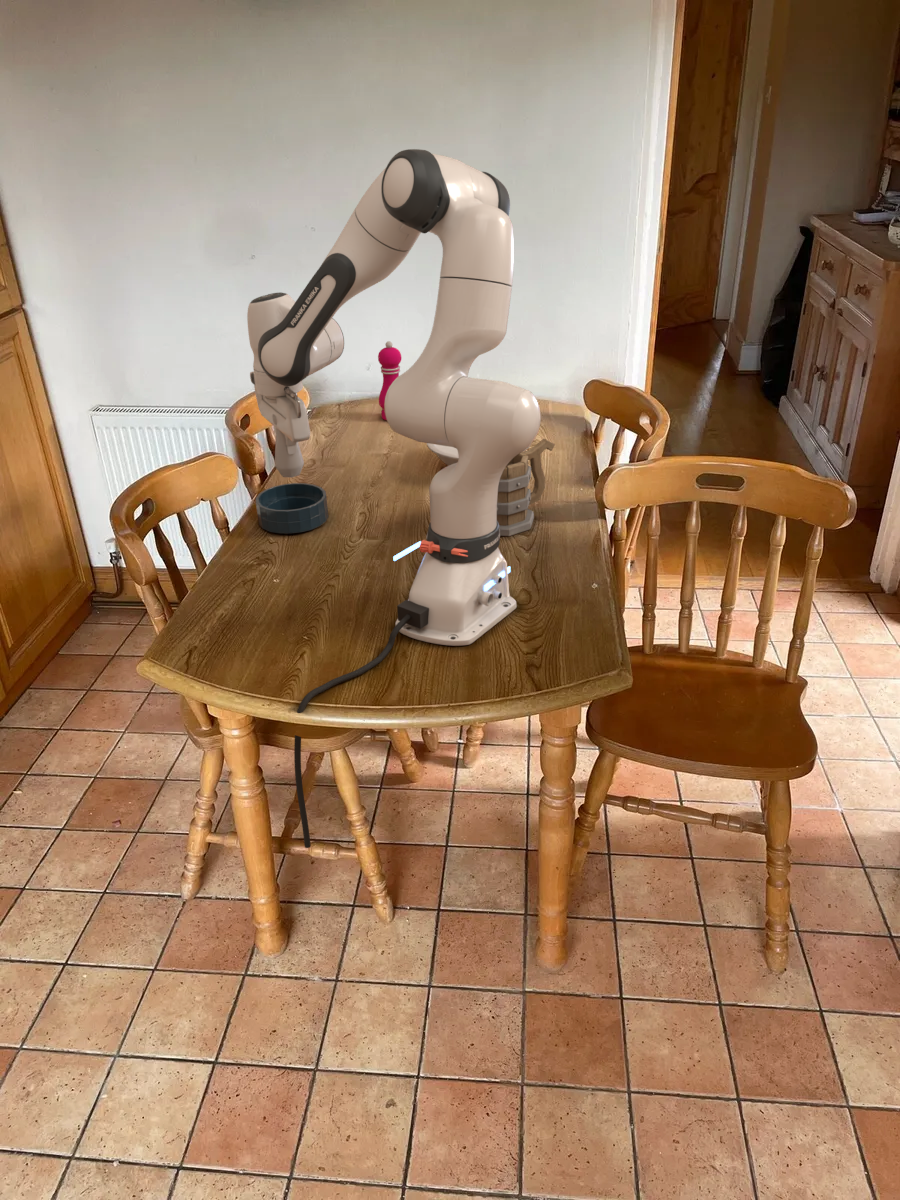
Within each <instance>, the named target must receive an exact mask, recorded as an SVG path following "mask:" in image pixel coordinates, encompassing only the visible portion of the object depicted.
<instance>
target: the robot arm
mask: <svg viewBox="0 0 900 1200" xmlns="http://www.w3.org/2000/svg"><path fill="white" fill-rule="evenodd" d="M510 211H511V200H510V194H509V192H508V189H507V188H506V186H505V185H504V183H502V182H501V181H500V179H498V178H497V177H495V176H494V175H492V174H491V173H489V172H487V171H481V170H479V169H477V168H475V167H473V166H472V165H469V164H467V163H464V162H463V161H462V160H460V159H456V158H453V157H450V156H447V155H446V156H445V155H443V154H438V153H432V152H430V151H428V150H426V149H420V148H411V149H403V150H401V151H398V152H397V153H395V154H394V155H393V156H392V157H391V159H390V160H389V161H388V163H387V165H386V166H385V168H384V169H383V170H382V171H381V172H380V173H379V174H378V176H377V177H376V178H375V179H374V180H373V182H372V183H371V184H370V185H369V187H367V190H366V191H365V192H364V194H363V195H362V197H361V198H360V199H359V201H358V203H357V204H356V206H355V208H354V209H353V212H352V213H351V215H350V216H349V219H348V220H347V222H346V224H345V225H344V227H343V229H342V231H341V232H340V234H339V235H338V238H337V239H336V241H335V242H334V245H333V246H332V248H331V249H330V250H329V252H328V253H327V254H326V256H325V258H324V260H323V262H322V263H321V265H320V266H319V267H318V269H317V270H316V272H315V273H314V275H313V276H312V277H311V279H310V280H309V281H308V283H307V284H306V286H305V287H304V289H303V290H302V292H301V293H300V295H299V296H298V298H297V299H296V300H294V298H292V297H291V295H289V294H288V293H286V292H273V293H272V292H271V293H268V294H264V295H261V296H258V297H256V298H253V299H252V300H251V301H250V302H249V304H248V307H247V313H246V314H247V316H246V319H247V331H248V341H249V345H250V346H249V347H250V349H251V351H252V353H253V354H252V355H253V363H252V369H253V371H250V372H249V378H250V382H251V383H252V385H254V386H253V389H254V393H255V398H256V403H257V407H258V411H259V413H260V415H261V416H262V417H263V418H264V419H265V420H267V422H269V423H270V425H272V426H273V430H274V432H275V434H276V428H277V429H278V430H279V431H281V432H282V433H283V434H284V435H285V438H286V449H287V453H288V454H290V455H291V454H295V453H296V452H297V449H296V443H297V442H298V443H299V442H304V441H308V440H309V439H310V438H311V429H310V421H309V417H308V412H307V411H308V410H307V407H306V403H305V402H304V401H303V399H302V398H300V397H299V396H298V393H299V392H301V391H302V390H303V389H304V385H303V381H304V380H306V378H307V377H309V376H312V375H313V374H315V373H317V372H319V371H321V370H322V369H324V368H326V367H328V366H329V365H332V363H334V362H335V361H336V362H337V360H339V358H341V356H342V354H343V352H344V349H345V336H344V333H343V330H342V328H341V326H340V324H339V323H338V322H337V321H336V319H334V316H335V314H336V313H337V312H338V311H339V309H340V308H341V307H343V306H344V305H345V304H346V303H347V302H348V301H349V300H351V299H353V298H354V297H356V296H358V295H359V294H360V293H362V292H363V291H366V290H367V289H369V288H371V287H374V286H375V285H377V284H379V283H380V282H382V281H384V280H385V279H386V278H388V277H389V276H391V274H392V273H393V272H394V271H395V270H396V269H397V268H398V267H399V266H400V265H402V263H403V262H404V260H405V259H406V257H407V256H408V255H409V253H410V252H411V250H412V249H413V247H414V245H415V244H416V242H417V240H418V239H419V237H420V235H421V234H427V233H430V234H433V235H435V236H436V237H438V239H439V241H440V243H441V248H442V257H441V258H442V259H441V264H440V265H441V266H440V272H439V280H438V281H439V282H438V289H437V299H436V304H435V305H436V306H435V311H434V317H433V322H432V323H433V324H432V328H431V332H430V335H429V338H428V340H427V342H426V344H425V347H424V349H423V350H422V352H421V353H420V355H419V357H418V358H417V359H416V360H415V362H414V363H413V364H412V365H411V366H410V367H409V368H408V369H406V370H405V372H403V373H401V374H399V376H398V377H397V378H396V379H395V380H394V381H393V383H392V384H391V385H390V387H389V389H388V391H387V394H386V397H385V404H384V409H385V415H386V419H387V420H386V421H387V424H388V426H389V427H390V429H391V430H392V431H393V432H394V433H396V434H398V435H401V436H403V437H405V438H408V439H410V440H413V441H415V442H418V443H425V444H427V443H430V444H436V445H443V446H449V447H454V448H457V450H458V454H459V458H458V462H457V463H455V464H452V465H449V466H448V465H447V466H445V467H442V469H440V470H439V471H437V472H436V473H435V475H434V476H433V477H432V479H431V481H430V484H429V488H428V495H429V516H430V517H429V518H430V519H429V520H430V522H429V524H428V528H427V532H426V537H425V538H426V539H422V540H420V541H418V542H415V543H414V544H413V545H411V546H409V547H407V548H405V549H404V550H402V551H401V552H399V553H396V555H394V556H393V557H392V558H393V561H394V562H396V561H397V560H399V559H401V558H403V557H405V556H406V555H408V554H409V553H411V552H413V551H414V550H416V549H418V548H419V552H420V553H424V555H423V557H422V559H421V563H420V565H419V567H418V569H417V572H416V574H415V576H414V580H413V582H412V584H411V587H410V590H409V592H408V593H409V594H408V599H405V600H403V601H402V602H400V603H399V604H397V605H396V611H397V619H396V621H395V624H394V627H393V628H392V630H391V632H390V634H389V636H388V641H387V644H386V645H385V647H384V648H383V650H382V651H381V652H380V654H378V656H376V657H375V658H374V659H373V660H371V661H369V662H367V663H366V664H364V665H363V666H361V667H359V668H357V669H355V670H353V671H351V672H347V673H346V674H345V673H344V674H343V675H340V676H338V677H335V678H333V679H331V680H329V681H327V682H325V683H323V684H321V685H320V686H318V687H316V688H313V689H311V690H310V691H309V692H307V694H306V695H305V696H304V697H303V698H302V700H301V701H300V703H299V705H298V707H297V710H296V713H297V714H302V713H304V712H305V710H306V708H307V706H308V705H309V703H310V701H311V700H312V699H313V698H314V697H315V696H318V695H320V694H321V693H323V692H325V691H327V690H329V689H331V688H332V687H335V686H337V685H339V684H341V683H345V682H346V681H349V680H352V679H354V678H356V677H359V676H361V675H363V674H364V673H366V672H368V671H369V670H371V669H373V668H374V667H376V666H377V665H379V664H380V663H381V662H382V661H383V660H384V659H385V658H386V657H387V656H388V655H389V653H390V652H391V650H392V649H393V647H394V644H395V642H396V638H397V635H398V634H399V633H400V634H402V635H404V636H405V637H409V638H412V639H413V640H414V639H415V640H418V641H421V642H425V643H431V644H434V645H441V646H455V647H457V646H458V647H459V646H470V645H471V644H473V643H474V642H475V641H477V640H478V639H480V637H482V636H483V635H484V634H485V633H487V632H488V631H490V630H491V629H492V628H493V627H495V625H497V624H498V623H500V622H501V621H503V619H504V618H506V617H507V616H509V615H510V614H511V613H512V612H513V611H514V610H516V609H517V606H518V605H517V601H516V599H515V598H514V597H512V596H511V595H510V584H509V574H510V573H511V566H508V562H507V560H506V559H505V557H504V555H503V554H502V552H501V550H500V548H499V547H500V543H501V542H500V541H501V536H500V529H499V523H498V521H497V495H498V485H499V481H500V477H501V475H502V472H503V470H504V469H505V467H506V466H507V464H508V463H509V462H510V461H511V460H512V459H513V458H514V457H515V456H516V455H518V454H519V453H521V452H525V451H526V450H528V449H529V448H530V447H531V445H532V443H533V442H534V441H535V440H536V438H537V436H538V434H539V431H540V427H541V421H542V420H541V419H542V416H541V414H542V413H541V408H540V405H539V402H538V400H537V398H536V396H535V395H534V394H533V392H532V391H531V390H529V389H526V388H523V387H520V386H518V385H515V384H513V383H510V382H506V381H501V380H493V379H487V378H486V379H485V378H477V377H469V373H470V369H471V367H472V364H474V362H475V360H476V359H477V358H478V357H479V356H481V355H484V354H486V353H488V352H491V351H492V350H494V349H495V348H497V347H498V346H500V344H501V343H502V342H503V340H504V339H505V337H506V335H507V329H508V323H509V315H510V314H509V313H510V308H511V307H510V306H511V299H512V292H513V282H514V281H513V280H514V268H515V267H514V266H515V239H514V238H515V236H514V226H513V223H512V220H511V217H510ZM273 414H274V415H275V416H276V419H277V425H275V424H274V423H273V418H272V415H273ZM529 446H530V447H529ZM528 447H529V448H528ZM527 448H528V449H527ZM525 449H526V450H525ZM524 450H525V451H524ZM293 747H294V749H293V750H294V753H293V754H294V755H293V757H294V760H293V761H294V778H295V788H296V795H297V801H298V809H299V814H300V821H301V827H302V828H301V829H302V835H303V843H304V848H305V849H309V848H311V847H312V846H311V837H310V829H309V821H308V815H307V808H306V801H305V794H304V786H303V775H302V736H299V735H295V734H294V746H293Z"/></svg>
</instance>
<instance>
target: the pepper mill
mask: <svg viewBox="0 0 900 1200" xmlns="http://www.w3.org/2000/svg"><path fill="white" fill-rule="evenodd" d="M384 344H385V347H384V348H382V349H380V350H379V352H378V355H377V359H378V363H379V364H380V373H381V374H382V386H381V389H380V392H379V395H378V405H379V406H380V408H381V409H382V410H381V419H382V420H384V421H387V419H386V415H385V409H384V404H385V397H386V394H387V391H388V389H389V387H390V385H391V384H392V383H393V381H394V380H395V379H396V378H397V377H398V376H400V372H401V366H400V363H401V362H402V352H401V351H400V350H399V349H398V348H396V347H394V346H393V342H391V341H389V340H388V341H386V342H385V343H384Z"/></svg>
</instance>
